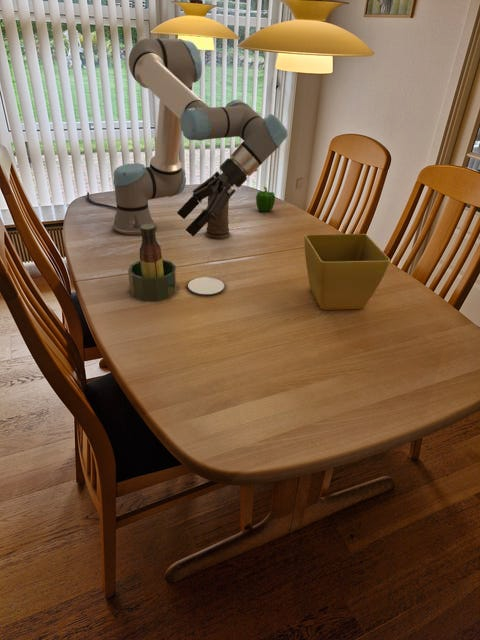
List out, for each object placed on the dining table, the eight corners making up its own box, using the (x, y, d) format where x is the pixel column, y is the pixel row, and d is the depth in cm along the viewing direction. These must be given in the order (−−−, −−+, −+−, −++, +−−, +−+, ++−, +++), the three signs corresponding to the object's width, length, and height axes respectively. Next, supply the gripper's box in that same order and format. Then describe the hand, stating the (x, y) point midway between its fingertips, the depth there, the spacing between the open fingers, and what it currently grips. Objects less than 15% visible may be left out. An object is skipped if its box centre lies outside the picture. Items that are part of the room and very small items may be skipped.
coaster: (180, 289, 131) (180, 287, 131) (200, 275, 139) (200, 273, 139) (211, 299, 127) (211, 297, 127) (230, 284, 135) (230, 283, 135)
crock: (121, 292, 128) (118, 271, 124) (150, 275, 138) (148, 255, 134) (157, 305, 123) (156, 283, 119) (185, 286, 133) (184, 265, 129)
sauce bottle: (160, 283, 134) (156, 220, 123) (168, 292, 129) (164, 227, 119) (139, 287, 131) (134, 223, 120) (146, 296, 127) (141, 231, 116)
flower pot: (312, 317, 121) (321, 261, 112) (297, 284, 137) (303, 233, 128) (378, 315, 124) (392, 260, 115) (355, 283, 140) (366, 233, 131)
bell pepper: (273, 214, 192) (275, 191, 187) (254, 212, 193) (256, 189, 187) (274, 208, 199) (276, 186, 194) (256, 206, 200) (258, 184, 195)
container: (229, 239, 165) (230, 192, 156) (205, 238, 165) (205, 190, 155) (229, 231, 173) (231, 185, 163) (207, 230, 173) (207, 183, 163)
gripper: (262, 190, 110) (203, 250, 114) (235, 165, 130) (186, 217, 134) (243, 169, 106) (182, 232, 110) (218, 147, 126) (168, 201, 130)
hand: (184, 224), depth 122 cm, fingers open, 13 cm apart
